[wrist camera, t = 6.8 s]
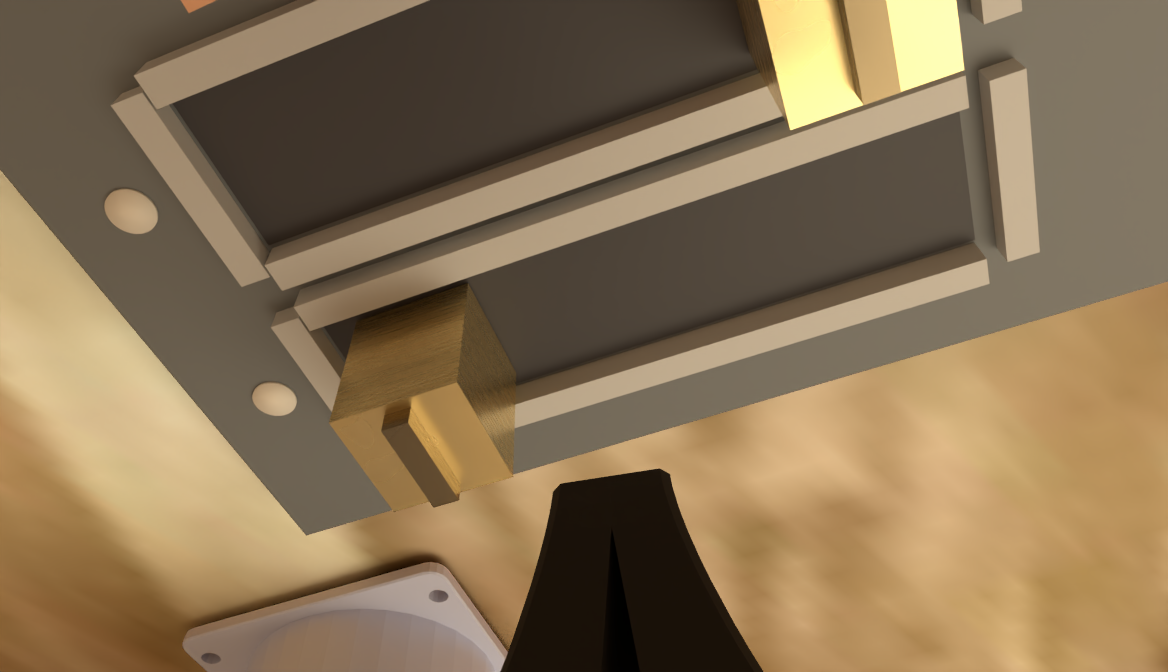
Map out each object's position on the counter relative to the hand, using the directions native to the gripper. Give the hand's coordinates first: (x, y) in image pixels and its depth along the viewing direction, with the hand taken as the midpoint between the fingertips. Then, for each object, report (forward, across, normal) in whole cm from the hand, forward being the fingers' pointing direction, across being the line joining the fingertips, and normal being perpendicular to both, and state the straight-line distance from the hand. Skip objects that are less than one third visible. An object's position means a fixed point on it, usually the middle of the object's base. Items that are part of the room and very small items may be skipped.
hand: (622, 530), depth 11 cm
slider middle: (+7, -4, -4) cm, 9 cm away
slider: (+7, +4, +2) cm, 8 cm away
